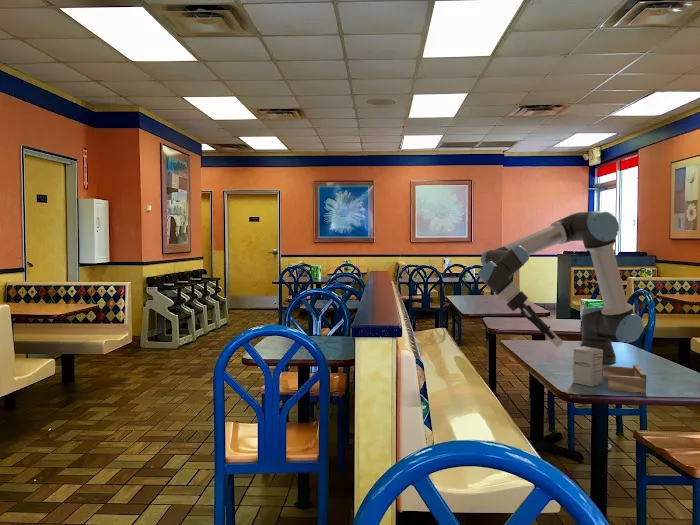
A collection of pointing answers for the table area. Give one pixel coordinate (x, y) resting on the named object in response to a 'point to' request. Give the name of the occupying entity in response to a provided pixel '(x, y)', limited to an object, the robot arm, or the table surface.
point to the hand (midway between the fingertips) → (560, 344)
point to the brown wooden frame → (625, 378)
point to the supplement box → (587, 366)
